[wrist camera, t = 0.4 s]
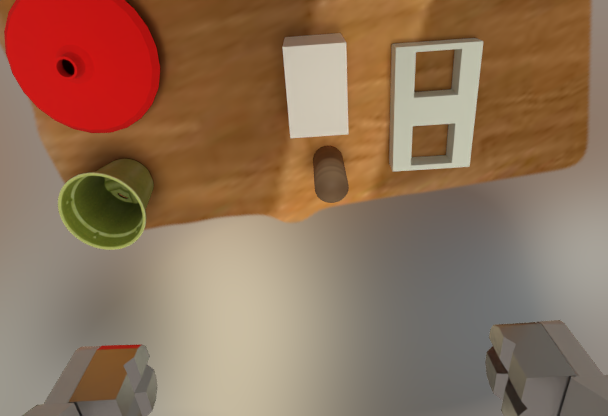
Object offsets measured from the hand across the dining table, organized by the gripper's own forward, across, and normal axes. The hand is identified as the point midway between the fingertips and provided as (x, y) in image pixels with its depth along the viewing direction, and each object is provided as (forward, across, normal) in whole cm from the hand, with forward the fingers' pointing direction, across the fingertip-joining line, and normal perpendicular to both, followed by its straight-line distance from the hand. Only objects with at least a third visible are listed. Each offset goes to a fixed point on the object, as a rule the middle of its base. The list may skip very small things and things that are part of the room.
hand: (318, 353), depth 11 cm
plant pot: (+44, +23, +14) cm, 52 cm away
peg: (+44, -2, +13) cm, 46 cm away
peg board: (+44, -14, +7) cm, 46 cm away
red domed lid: (+44, +23, -1) cm, 50 cm away
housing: (+44, -1, +3) cm, 44 cm away
